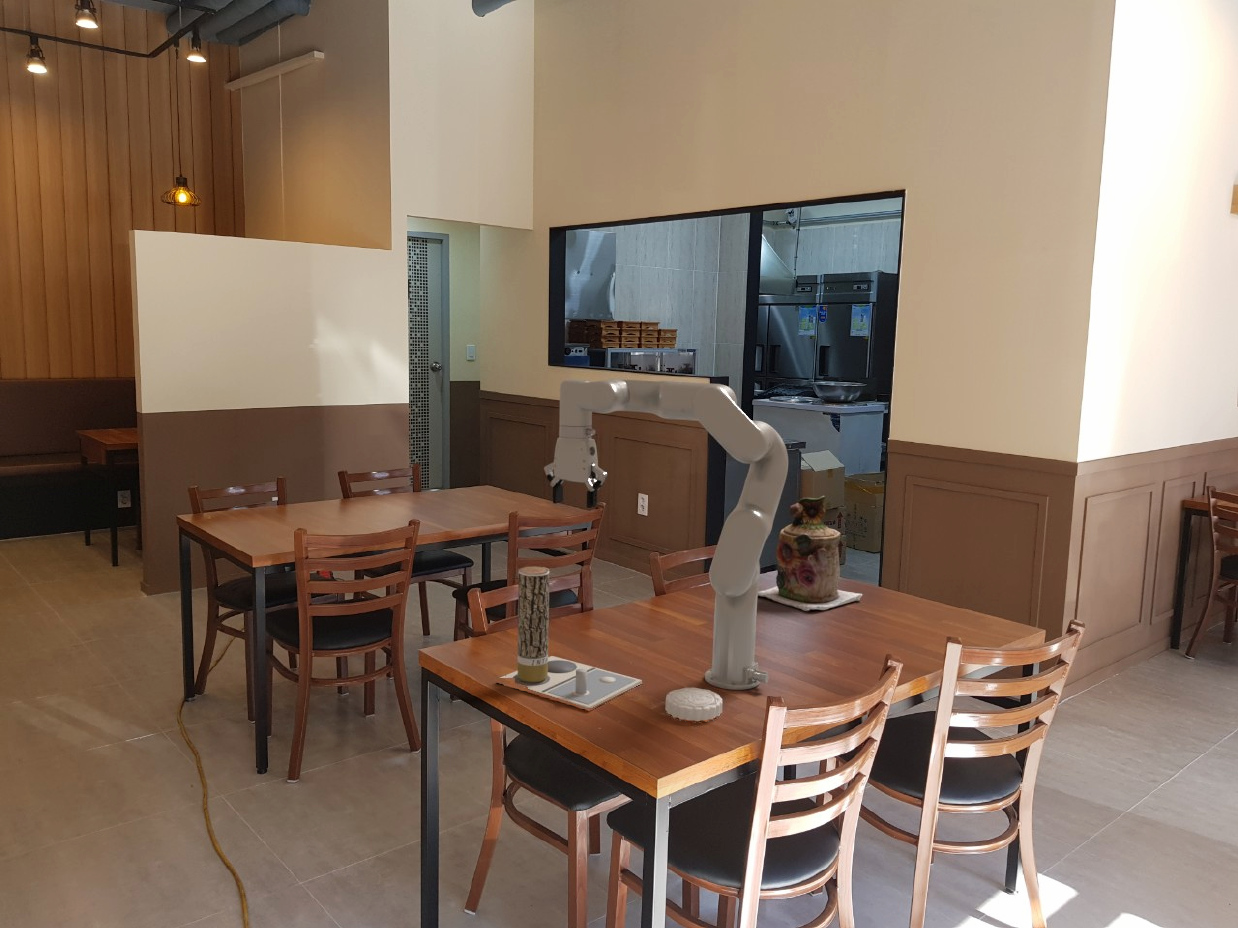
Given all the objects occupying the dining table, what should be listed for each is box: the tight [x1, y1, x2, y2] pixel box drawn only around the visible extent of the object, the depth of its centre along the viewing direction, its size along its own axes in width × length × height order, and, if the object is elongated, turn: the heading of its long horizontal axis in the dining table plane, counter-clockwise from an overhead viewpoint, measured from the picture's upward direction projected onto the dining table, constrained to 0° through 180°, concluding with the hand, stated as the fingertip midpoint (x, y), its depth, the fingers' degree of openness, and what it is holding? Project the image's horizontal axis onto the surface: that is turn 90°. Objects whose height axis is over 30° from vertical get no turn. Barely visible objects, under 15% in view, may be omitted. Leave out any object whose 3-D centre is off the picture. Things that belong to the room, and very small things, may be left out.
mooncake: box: [664, 686, 723, 721], centre depth 202 cm, size 12×12×4 cm
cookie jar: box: [758, 495, 863, 612], centre depth 290 cm, size 25×25×32 cm
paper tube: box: [517, 566, 550, 683], centre depth 214 cm, size 7×7×25 cm
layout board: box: [499, 655, 643, 708], centre depth 216 cm, size 26×20×6 cm
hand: (574, 504), depth 226 cm, fingers open, 9 cm apart
